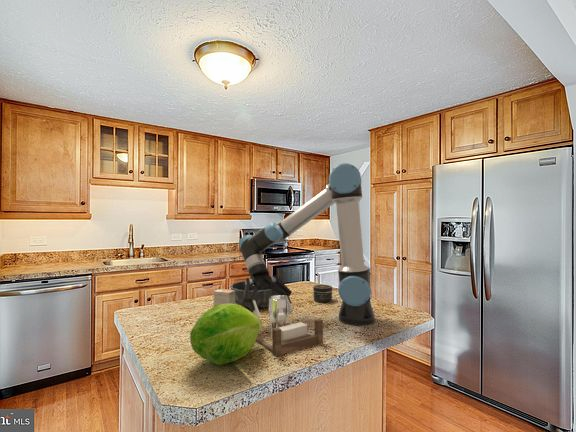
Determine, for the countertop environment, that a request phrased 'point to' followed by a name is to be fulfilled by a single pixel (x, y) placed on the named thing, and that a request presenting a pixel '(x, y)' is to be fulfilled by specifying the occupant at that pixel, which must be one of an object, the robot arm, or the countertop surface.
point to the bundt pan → (260, 296)
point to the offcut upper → (293, 330)
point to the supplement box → (224, 297)
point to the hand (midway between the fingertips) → (275, 315)
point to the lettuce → (225, 333)
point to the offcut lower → (295, 337)
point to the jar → (322, 293)
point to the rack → (295, 344)
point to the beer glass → (277, 311)
